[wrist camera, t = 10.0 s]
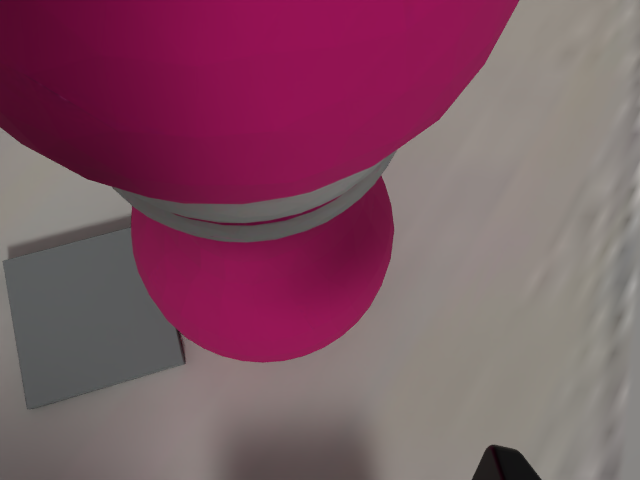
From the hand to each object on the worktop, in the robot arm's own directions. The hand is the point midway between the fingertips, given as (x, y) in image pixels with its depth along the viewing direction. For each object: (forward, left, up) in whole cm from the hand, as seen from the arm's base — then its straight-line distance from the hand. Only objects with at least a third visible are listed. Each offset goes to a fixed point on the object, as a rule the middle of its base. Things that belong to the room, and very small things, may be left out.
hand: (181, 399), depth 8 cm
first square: (+2, +6, -12) cm, 13 cm away
